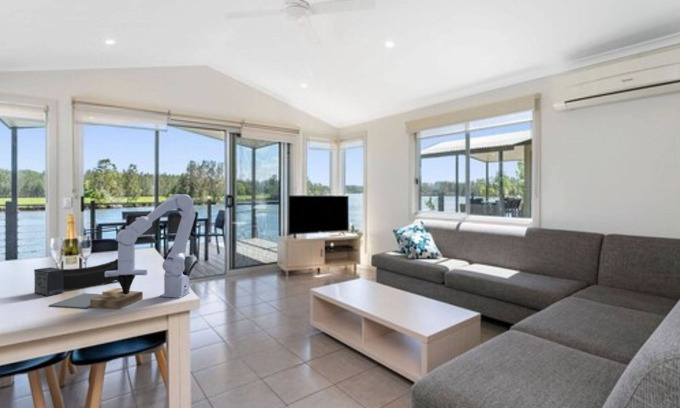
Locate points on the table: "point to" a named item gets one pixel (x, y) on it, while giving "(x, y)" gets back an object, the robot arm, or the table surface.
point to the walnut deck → (116, 301)
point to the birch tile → (114, 293)
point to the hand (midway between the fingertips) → (126, 293)
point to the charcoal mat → (77, 301)
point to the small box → (48, 281)
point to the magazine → (88, 276)
